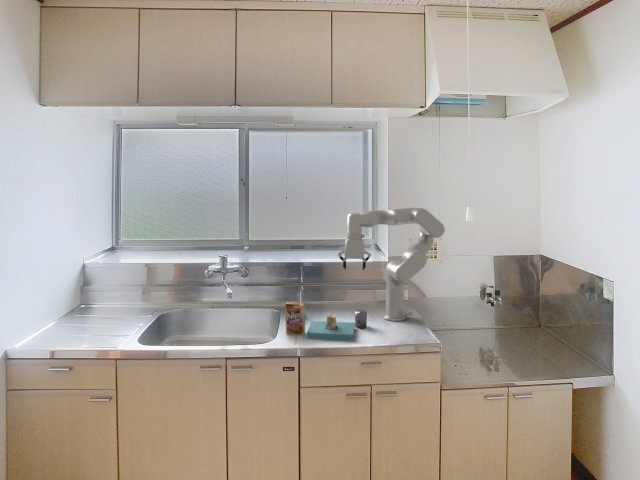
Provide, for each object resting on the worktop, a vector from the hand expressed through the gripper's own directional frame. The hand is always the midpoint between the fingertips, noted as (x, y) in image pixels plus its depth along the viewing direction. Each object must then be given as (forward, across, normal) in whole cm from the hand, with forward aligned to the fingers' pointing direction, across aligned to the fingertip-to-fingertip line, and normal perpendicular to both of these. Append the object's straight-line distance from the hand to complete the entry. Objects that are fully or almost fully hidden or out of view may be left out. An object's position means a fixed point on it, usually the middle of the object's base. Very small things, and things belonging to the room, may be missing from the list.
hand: (354, 269), depth 200 cm
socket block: (+28, +10, +19) cm, 36 cm away
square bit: (+28, +10, +19) cm, 36 cm away
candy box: (+28, +28, +21) cm, 45 cm away
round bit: (+28, -4, +8) cm, 30 cm away
